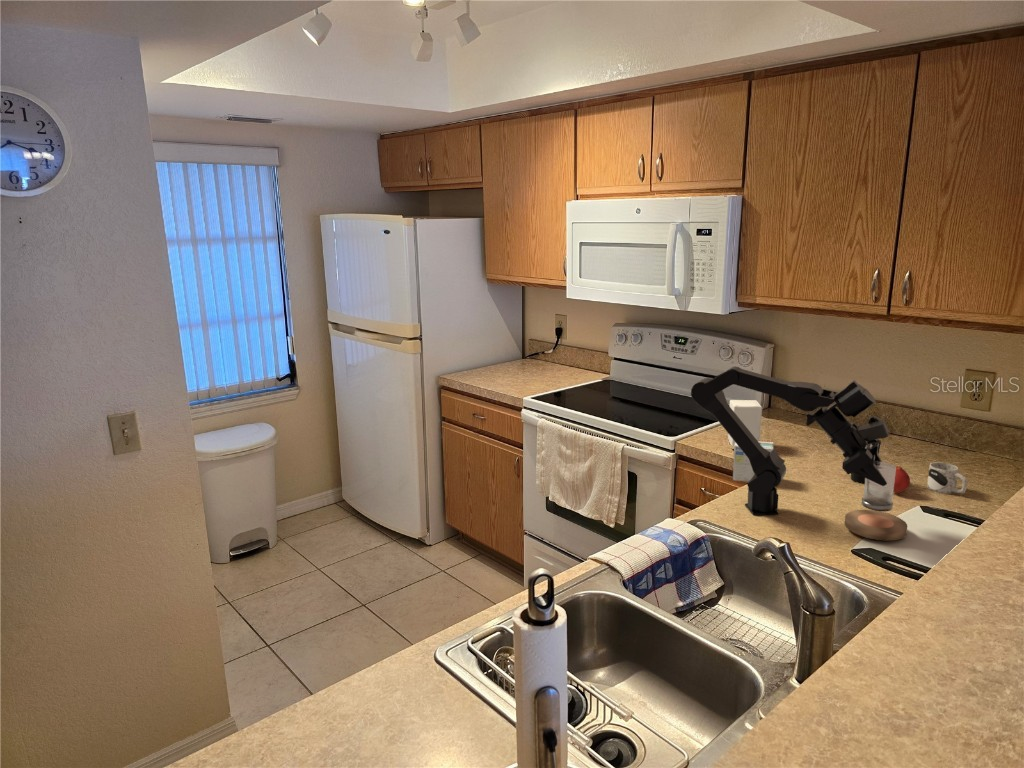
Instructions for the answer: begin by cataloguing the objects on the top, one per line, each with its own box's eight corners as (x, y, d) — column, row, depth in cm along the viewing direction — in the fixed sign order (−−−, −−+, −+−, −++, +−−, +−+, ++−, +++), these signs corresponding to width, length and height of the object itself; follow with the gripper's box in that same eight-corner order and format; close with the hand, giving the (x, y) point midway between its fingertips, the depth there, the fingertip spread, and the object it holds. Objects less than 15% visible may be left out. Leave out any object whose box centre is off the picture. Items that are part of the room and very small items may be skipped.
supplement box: (760, 451, 218) (762, 406, 214) (731, 450, 219) (733, 406, 216) (754, 442, 226) (757, 399, 223) (727, 441, 228) (729, 399, 224)
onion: (886, 487, 185) (889, 460, 183) (910, 492, 182) (913, 464, 180) (881, 494, 181) (884, 466, 179) (906, 498, 177) (909, 470, 175)
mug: (921, 487, 185) (923, 464, 183) (938, 483, 187) (941, 460, 186) (955, 500, 176) (959, 476, 174) (973, 496, 178) (976, 472, 177)
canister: (862, 508, 156) (866, 468, 154) (860, 498, 162) (865, 459, 159) (893, 513, 153) (898, 472, 151) (891, 502, 159) (895, 463, 157)
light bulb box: (772, 477, 195) (774, 441, 193) (771, 485, 189) (774, 448, 187) (733, 473, 199) (735, 438, 197) (732, 480, 193) (733, 445, 191)
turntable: (862, 545, 152) (863, 533, 152) (834, 521, 165) (834, 510, 164) (918, 543, 153) (919, 531, 152) (886, 519, 165) (887, 508, 165)
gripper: (863, 418, 147) (916, 474, 143) (871, 399, 162) (919, 449, 159) (821, 446, 153) (871, 501, 149) (833, 425, 168) (878, 475, 165)
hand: (886, 480), depth 155 cm, fingers closed on canister, 6 cm apart
